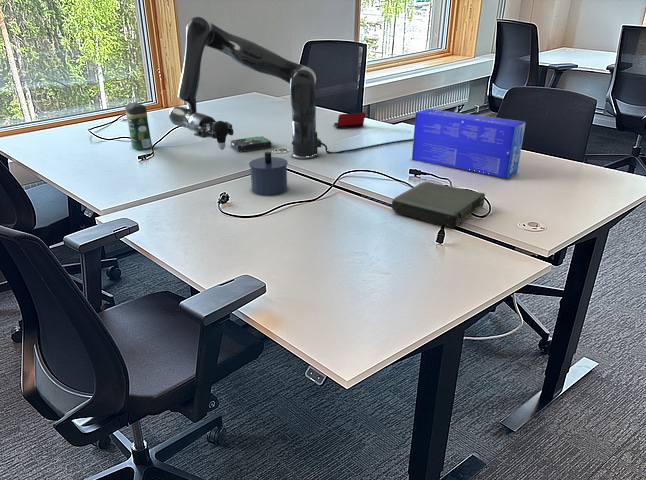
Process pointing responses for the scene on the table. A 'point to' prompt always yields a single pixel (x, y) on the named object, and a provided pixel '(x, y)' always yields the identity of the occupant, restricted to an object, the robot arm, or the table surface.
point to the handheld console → (350, 120)
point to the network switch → (438, 203)
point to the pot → (269, 181)
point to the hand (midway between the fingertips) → (224, 134)
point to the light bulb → (220, 133)
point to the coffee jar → (138, 126)
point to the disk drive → (250, 143)
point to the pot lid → (268, 162)
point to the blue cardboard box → (468, 142)
